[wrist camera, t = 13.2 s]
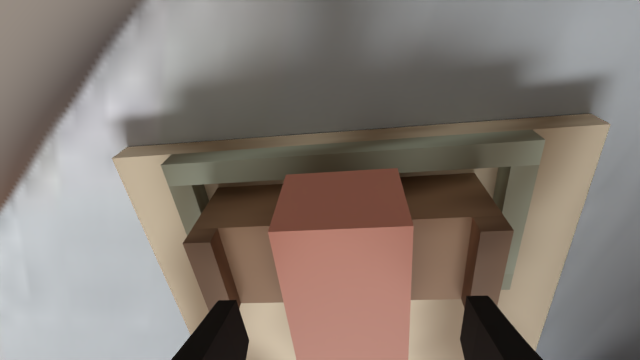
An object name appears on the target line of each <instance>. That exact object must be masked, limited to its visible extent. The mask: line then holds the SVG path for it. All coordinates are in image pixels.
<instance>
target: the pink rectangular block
mask: <svg viewBox="0 0 640 360" xmlns="http://www.w3.org/2000/svg"><path fill="white" fill-rule="evenodd" d="M413 231H414V225H413V222H412V218H411V215H410V211H409V208H408V204H407V200H406V197H405V193H404V190H403V186H402V183H401V179H400V176H399V172H398V168H390V169H373V170H356V171H339V172H322V173H305V174H288V175H286V176H285V179H284V182H283V186H282V189H281V192H280V195H279V198H278V201H277V205H276V208H275V211H274V214H273V217H272V220H271V224H270V227H269V230H268V235H269V240H270V244H271V248H272V253H273V257H274V262H275V266H276V271H277V275H278V280H279V284H280V289H281V293H282V298H283V302H284V307H285V311H286V316H287V320H288V325H289V329H290V333H291V338H292V342H293V347H294V351H295V356H296V360H408V355H409V330H410V305H411V280H412V256H413Z"/></svg>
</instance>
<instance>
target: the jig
mask: <svg viewBox="0 0 640 360" xmlns="http://www.w3.org/2000/svg"><path fill="white" fill-rule="evenodd" d="M609 127H610V124H609V123H608V122H606V121H604V120H602V119H600V118H598V117H596V116H594V115H592V114H578V115H564V116H550V117H536V118H522V119H508V120H494V121H481V122H467V123H453V124H439V125H425V126H411V127H398V128H384V129H370V130H356V131H342V132H328V133H314V134H301V135H287V136H273V137H259V138H245V139H231V140H218V141H204V142H190V143H176V144H162V145H148V146H134V147H127V148H125V149H124V150H122V151H121V152H120V153H118V154H117V155H116V156H114V157H113V158H112V160H113V162H114V164H115V167H116V169H117V171H118V173H119V176H120V178H121V180H122V182H123V184H124V187H125V189H126V191H127V193H128V196H129V198H130V200H131V202H132V205H133V207H134V209H135V211H136V214H137V216H138V218H139V220H140V222H141V225H142V227H143V229H144V231H145V234H146V236H147V238H148V240H149V243H150V245H151V247H152V249H153V252H154V254H155V256H156V258H157V261H158V263H159V265H160V267H161V269H162V272H163V274H164V276H165V278H166V281H167V283H168V285H169V287H170V290H171V292H172V294H173V296H174V299H175V301H176V303H177V305H178V307H179V310H180V312H181V314H182V316H183V319H184V321H185V323H186V325H187V328H188V330H189V332H190V334H191V335H192V333H193V332H194V331H195V329H196V328H197V327H198V326H199V324H200V323H201V322H202V320H203V319H204V318H205V317H206V315H207V314H208V313H209V310H208V308H207V305H206V303H205V300H204V298H203V295H202V292H201V290H200V287H199V285H198V282H197V280H196V277H195V274H194V272H193V269H192V267H191V264H190V261H189V259H188V256H187V254H186V251H185V249H184V246H183V242H184V240H185V239H186V237H187V236H188V234H189V232H190V231H191V229H192V228H193V226H194V225H195V223H196V221H197V220H198V218H199V217H200V215H201V213H202V212H203V210H204V209H205V207H206V206H207V204H208V202H209V201H210V199H211V198H212V196H213V194H214V193H215V191H216V190H217V188H218V187H236V186H253V185H271V184H283V182H284V179H285V176H286V175H288V174H305V173H322V172H339V171H356V170H373V169H390V168H398V172H399V176H400V177H410V176H428V175H445V174H462V173H475V174H476V176H477V177H478V179H479V180H480V182H481V183H482V184H483V186H484V187H485V189H486V190H487V192H488V193H489V195H490V196H491V198H492V199H493V201H494V202H495V203H496V205H497V206H498V208H499V209H500V211H501V212H502V214H503V215H504V217H505V218H506V220H507V221H508V222H509V224H510V225H511V227H512V228H513V230H514V233H513V237H512V242H511V246H510V251H509V255H508V260H507V264H506V269H505V274H504V278H503V283H502V287H501V292H500V296H499V301H498V305H497V307H498V308H499V309H500V310H501V312H502V313H503V314H504V315H505V317H506V318H507V319H508V320H509V321H510V323H511V324H512V325H513V326H514V327H515V329H516V330H517V331H518V332H519V333H520V334H521V336H522V337H523V338H524V339H525V340H526V341H527V343H528V344H529V345H530V346H531V347H532V348H533V349H534V351H536V348H537V345H538V342H539V339H540V336H541V333H542V330H543V327H544V324H545V321H546V318H547V315H548V312H549V309H550V306H551V302H552V299H553V296H554V293H555V290H556V287H557V284H558V281H559V278H560V275H561V272H562V269H563V266H564V263H565V260H566V257H567V254H568V251H569V248H570V245H571V242H572V239H573V236H574V233H575V230H576V227H577V224H578V221H579V218H580V215H581V212H582V209H583V206H584V203H585V200H586V197H587V194H588V191H589V188H590V185H591V182H592V179H593V176H594V173H595V170H596V167H597V164H598V161H599V158H600V155H601V152H602V149H603V146H604V143H605V140H606V137H607V134H608V131H609ZM239 310H240V313H241V316H242V319H243V322H244V325H245V329H246V332H247V335H248V338H249V345H248V351H247V357H246V360H296V356H295V351H294V347H293V342H292V338H291V333H290V329H289V325H288V320H287V316H286V311H285V307H284V303H241V305H240V308H239ZM463 315H464V306H463V303H462V300H461V299H443V300H411V305H410V330H409V355H408V360H465V359H464V355H463V351H462V346H461V342H460V335H461V329H462V322H463Z"/></svg>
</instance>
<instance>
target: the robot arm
mask: <svg viewBox="0 0 640 360" xmlns="http://www.w3.org/2000/svg"><path fill="white" fill-rule="evenodd" d="M460 342H461V346H462V351H463V355H464V359H465V360H543V359H542V358H541V357H540V356H539V355H538V354H537V353H536V352H535V351H534V349H533V348H532V347H531V346H530V345H529V344H528V343H527V341H526V340H525V339H524V338H523V337H522V336H521V334H520V333H519V332H518V331H517V330H516V329H515V327H514V326H513V325H512V324H511V323H510V321H509V320H508V319H507V318H506V317H505V315H504V314H503V313H502V312H501V310H500V309H499V308H498V307H497V305H496V304H495V303H494V302H493V300H492V299H491V298H490V297H489V296H488V295H486V296H466V302H465V309H464V315H463V322H462V329H461V335H460ZM248 345H249V338H248V335H247V332H246V329H245V325H244V322H243V319H242V316H241V313H240V310H239V307H238V303H237V300H218V301H217V302H216V304H215V305H214V306H213V307H212V309H211V310H210V311H209V313H208V314H207V315H206V317H205V318H204V319H203V320H202V322H201V323H200V324H199V326H198V327H197V328H196V329H195V331H194V332H193V333H192V335H191V336H190V337H189V338H188V340H187V341H186V342H185V343H184V345H183V346H182V347H181V348H180V350H179V351H178V352H177V353H176V355H175V356H174V357H173V358H172V359H171V360H246V357H247V351H248Z"/></svg>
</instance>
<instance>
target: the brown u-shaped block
mask: <svg viewBox="0 0 640 360" xmlns="http://www.w3.org/2000/svg"><path fill="white" fill-rule="evenodd" d="M400 179H401V183H402V186H403V190H404V193H405V197H406V200H407V204H408V208H409V211H410V215H411V218H412V222H413V225H414V231H413V256H412V280H411V300H443V299H461V300H462V303H463V306H464V309H465V302H466V296H486V295H488V296H489V297H490V298H491V299H492V300H493V302H494V303H495V304H496V305H498V301H499V296H500V292H501V287H502V283H503V278H504V274H505V269H506V264H507V260H508V255H509V251H510V246H511V242H512V237H513V233H514V230H513V228H512V227H511V225H510V224H509V222H508V221H507V220H506V218H505V217H504V215H503V214H502V212H501V211H500V209H499V208H498V206H497V205H496V203H495V202H494V201H493V199H492V198H491V196H490V195H489V193H488V192H487V190H486V189H485V187H484V186H483V184H482V183H481V182H480V180H479V179H478V177H477V176H476V174H475V173H462V174H445V175H428V176H410V177H400ZM282 186H283V184H271V185H253V186H236V187H218V188H217V190H216V191H215V193H214V194H213V196H212V198H211V199H210V201H209V202H208V204H207V206H206V207H205V209H204V210H203V212H202V213H201V215H200V217H199V218H198V220H197V221H196V223H195V225H194V226H193V228H192V229H191V231H190V232H189V234H188V236H187V237H186V239H185V240H184V242H183V246H184V249H185V251H186V254H187V256H188V259H189V261H190V264H191V267H192V269H193V272H194V274H195V277H196V280H197V282H198V285H199V287H200V290H201V292H202V295H203V298H204V300H205V303H206V305H207V308H208V310H209V311H210V310H211V309H212V307H213V306H214V305H215V304H216V302H217V301H218V300H237V303H238V307H239V308H240V305H241V303H284V302H283V298H282V293H281V289H280V284H279V280H278V275H277V271H276V266H275V262H274V257H273V253H272V248H271V244H270V240H269V235H268V230H269V227H270V224H271V220H272V217H273V214H274V211H275V208H276V205H277V201H278V198H279V195H280V192H281V189H282Z"/></svg>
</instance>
